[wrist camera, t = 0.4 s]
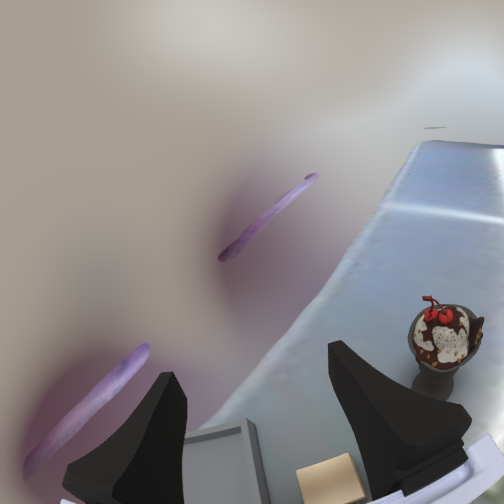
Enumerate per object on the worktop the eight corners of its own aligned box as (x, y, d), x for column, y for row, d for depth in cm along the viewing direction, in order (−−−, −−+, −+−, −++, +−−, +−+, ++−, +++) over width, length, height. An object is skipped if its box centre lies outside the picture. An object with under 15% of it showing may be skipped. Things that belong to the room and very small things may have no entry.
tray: (283, 559, 12) (274, 562, 11) (171, 559, 13) (157, 559, 12) (255, 425, 28) (246, 417, 26) (166, 444, 29) (154, 437, 27)
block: (367, 497, 15) (364, 496, 12) (321, 513, 16) (307, 514, 13) (354, 462, 19) (348, 452, 16) (311, 478, 20) (295, 470, 17)
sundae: (393, 383, 25) (389, 291, 17) (438, 350, 25) (450, 248, 17) (422, 426, 19) (448, 351, 12) (470, 387, 19) (510, 290, 12)
